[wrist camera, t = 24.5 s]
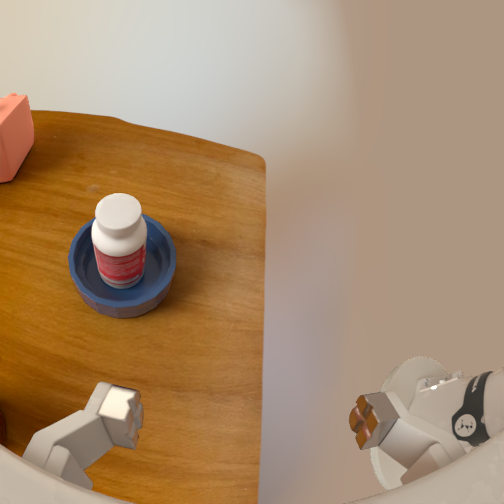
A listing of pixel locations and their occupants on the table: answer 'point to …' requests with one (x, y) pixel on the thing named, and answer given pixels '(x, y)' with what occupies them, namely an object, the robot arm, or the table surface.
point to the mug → (2, 428)
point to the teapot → (14, 134)
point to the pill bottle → (119, 240)
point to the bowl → (130, 299)
